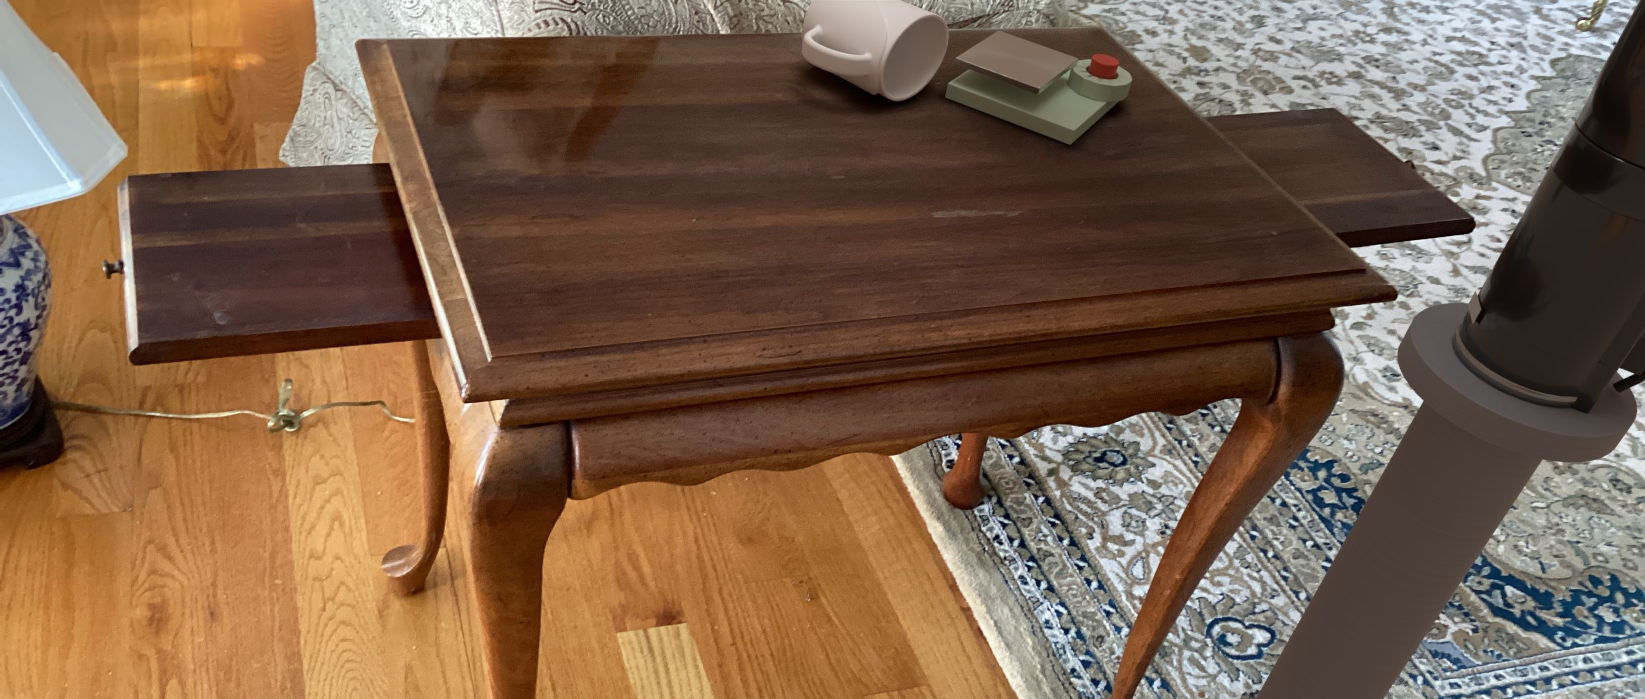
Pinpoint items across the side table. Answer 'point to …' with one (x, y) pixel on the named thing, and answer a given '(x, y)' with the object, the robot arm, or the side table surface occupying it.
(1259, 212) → the side table surface
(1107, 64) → the button
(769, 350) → the side table surface
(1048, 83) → the weigh pan
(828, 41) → the mug
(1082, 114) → the scale
